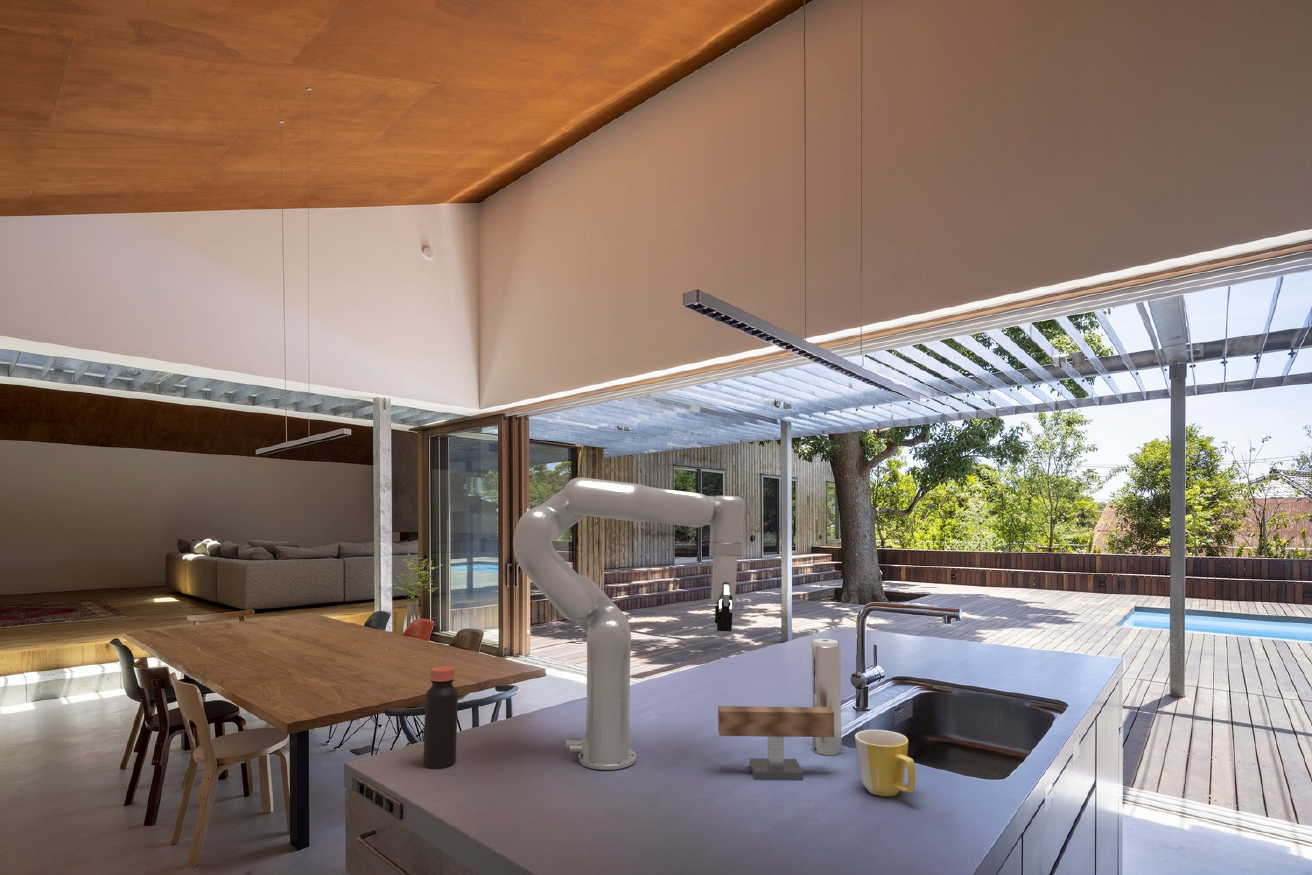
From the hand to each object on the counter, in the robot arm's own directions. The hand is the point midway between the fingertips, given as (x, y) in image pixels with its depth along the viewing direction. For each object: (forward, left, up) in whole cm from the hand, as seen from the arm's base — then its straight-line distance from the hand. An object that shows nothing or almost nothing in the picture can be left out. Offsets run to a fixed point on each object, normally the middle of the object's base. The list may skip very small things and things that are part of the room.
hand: (722, 627), depth 165 cm
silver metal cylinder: (+25, +7, -29) cm, 39 cm away
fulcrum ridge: (+11, -7, -29) cm, 32 cm away
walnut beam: (+11, -7, -21) cm, 25 cm away
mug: (+31, -18, -29) cm, 46 cm away
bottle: (-61, -4, -29) cm, 68 cm away
